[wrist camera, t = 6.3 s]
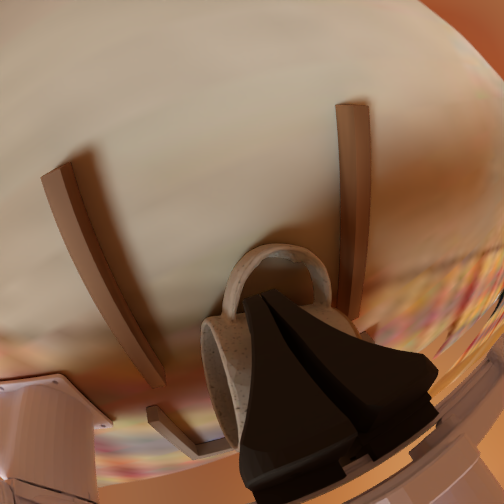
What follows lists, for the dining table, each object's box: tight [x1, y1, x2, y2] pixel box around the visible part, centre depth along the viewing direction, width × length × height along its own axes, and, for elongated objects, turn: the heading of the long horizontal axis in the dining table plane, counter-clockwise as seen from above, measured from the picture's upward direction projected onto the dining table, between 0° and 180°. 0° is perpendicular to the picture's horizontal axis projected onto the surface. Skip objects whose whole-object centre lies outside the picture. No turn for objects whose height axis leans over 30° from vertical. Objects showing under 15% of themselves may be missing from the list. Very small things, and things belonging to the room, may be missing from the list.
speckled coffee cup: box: [200, 243, 362, 452], centre depth 14 cm, size 11×8×8 cm
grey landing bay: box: [146, 331, 375, 460], centre depth 23 cm, size 20×12×2 cm, turn 98°
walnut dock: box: [41, 105, 371, 389], centre depth 14 cm, size 15×14×2 cm
